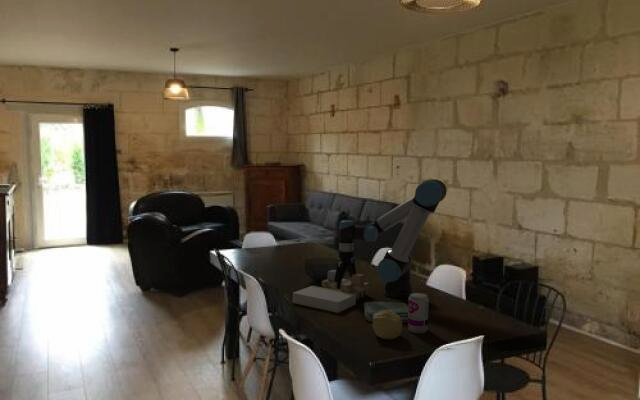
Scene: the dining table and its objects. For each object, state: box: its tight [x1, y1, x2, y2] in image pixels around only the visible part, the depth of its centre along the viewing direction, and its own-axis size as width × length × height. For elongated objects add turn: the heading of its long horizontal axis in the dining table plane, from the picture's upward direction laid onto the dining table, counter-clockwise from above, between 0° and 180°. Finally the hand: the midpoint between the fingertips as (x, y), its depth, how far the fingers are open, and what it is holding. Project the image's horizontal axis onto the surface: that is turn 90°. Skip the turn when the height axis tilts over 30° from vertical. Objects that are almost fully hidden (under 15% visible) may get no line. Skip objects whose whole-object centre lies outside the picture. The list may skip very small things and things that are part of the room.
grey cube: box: [327, 269, 336, 281], centre depth 269 cm, size 5×5×5 cm
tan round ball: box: [372, 310, 403, 340], centre depth 206 cm, size 12×12×11 cm
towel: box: [363, 301, 408, 323], centre depth 232 cm, size 18×21×5 cm
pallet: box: [321, 278, 370, 301], centre depth 265 cm, size 22×11×6 cm, turn 56°
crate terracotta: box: [351, 273, 365, 286], centre depth 261 cm, size 5×5×5 cm
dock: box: [292, 285, 357, 314], centre depth 249 cm, size 26×16×5 cm, turn 56°
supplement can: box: [407, 292, 430, 334], centre depth 213 cm, size 8×8×15 cm
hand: (345, 292), depth 266 cm, fingers closed on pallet, 11 cm apart
